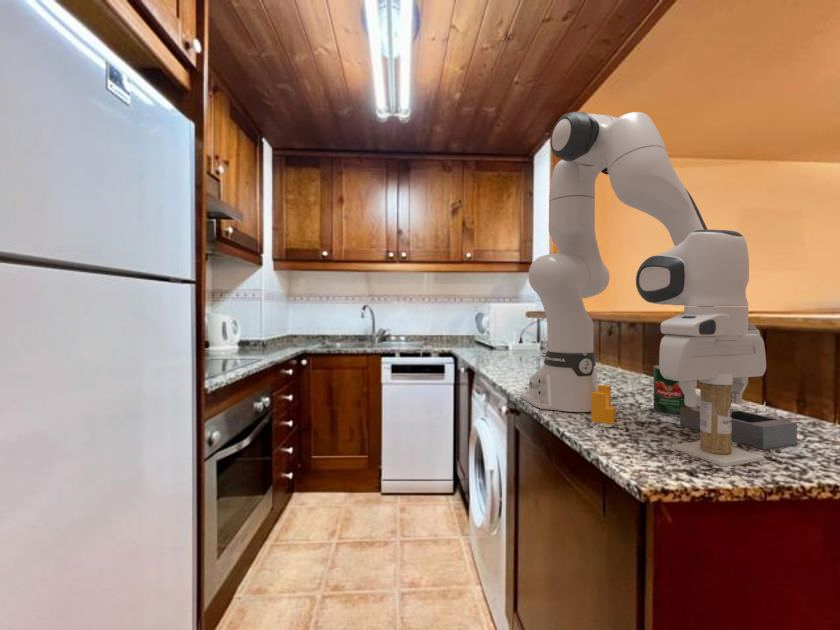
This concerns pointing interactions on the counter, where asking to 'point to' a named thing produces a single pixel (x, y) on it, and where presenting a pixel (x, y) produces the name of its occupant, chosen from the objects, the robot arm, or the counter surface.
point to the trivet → (721, 459)
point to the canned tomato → (667, 395)
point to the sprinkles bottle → (716, 414)
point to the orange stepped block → (602, 405)
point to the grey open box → (749, 428)
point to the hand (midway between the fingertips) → (713, 404)
